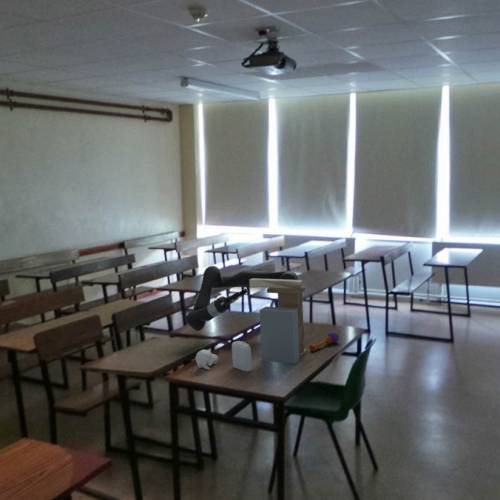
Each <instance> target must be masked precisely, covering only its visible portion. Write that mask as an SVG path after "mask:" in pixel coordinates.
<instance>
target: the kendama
mask: <svg viewBox="0 0 500 500" xmlns="http://www.w3.org/2000/svg"><path fill="white" fill-rule="evenodd" d="M339 340H340V336H339V334H338V333H337V332H336V331H330V332H328V333H327V335H326V336H325V338H324V340H322V341H321V342H317V343H314V344H312V345H309V347H308V349H309V351H310V352H316V351H317V350H319V349H320V348H321V347H322V346H323V345H325V344H328V345H329V344H337V343H338V342H339Z"/></svg>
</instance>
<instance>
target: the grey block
mask: <svg viewBox="0 0 500 500" xmlns="http://www.w3.org/2000/svg"><path fill="white" fill-rule="evenodd" d="M259 326H260V327H259V331H260V352H261V361H262V362H263V361H264V362H271V363H280V364H281V363H282V364H290V365H295V364H296V363H297V362H299V360H300V359H301V357H300V354H299V328H298V308H283V307H277V306H264V307H262V308H260V309H259Z"/></svg>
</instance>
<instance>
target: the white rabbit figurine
mask: <svg viewBox="0 0 500 500" xmlns="http://www.w3.org/2000/svg"><path fill="white" fill-rule="evenodd" d="M194 359H195V362H196V364H197V367H198V368H199V369H204V370H209V371H210V369H211V368H210V366H212V365H216V364H217V363H218V361H219V357H218V355H217V354H213V353H212V352H211V351H210V350H208V349H201V350H200V351H198V352H197V353H196V356H195V357H194ZM207 364H208V365H207Z"/></svg>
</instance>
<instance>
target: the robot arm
mask: <svg viewBox="0 0 500 500" xmlns="http://www.w3.org/2000/svg"><path fill="white" fill-rule="evenodd" d="M252 278H255V279H283V280H299V277H298V275H297V274H296V273H295V272H294V271H292V270H285V271H284V270H283V271H282V270H281V271H264V270H249V269H248V270H241V271H240V272H238V273H236V274H234V275H231V276H222V274H221V271H220V269H219V267H217V266H215V265H211V266H207V267H205V269H204V272H203V276H202V280H201V281H202V282H201V284H200V288H199V293H198V296H196V297H197V298H196V299H195V302H194V305H193V309H192V310H193V311H192V310H191V311H190V312H188V313H187V314H186V316H185V318H184V321H185V323H186V324H187V325H188V326H189V327H191V328H192V329H193V330H195V331H196V332H199V331H202V330H203V329H204V328H205V326H206V322H210V321H211V320H213V319H215V318H217V317H219V316H220V315H222V314H224V313H225V312H227V311H229V310H230V309H231V304H234V303H235V302H236V301H238V300H239V299H240V298H242V297H244V295H246V294H247V293H248V292H249V291H248V290H247V288H250V289H251V288H253V289H254V288H257V287H250V283H249V280H250V279H252ZM212 288H213V289H221V288H222V289H223V288H244V289H242V290H241V291H237V292H234V293H233V294H231V295H228V296H226V297H225V296H222V295H221V296H220V297H217V299H215V300H213V301H212V302H211V296H212V290H213V289H212Z"/></svg>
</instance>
